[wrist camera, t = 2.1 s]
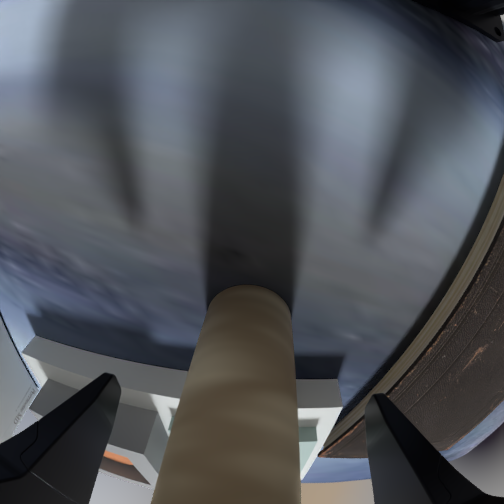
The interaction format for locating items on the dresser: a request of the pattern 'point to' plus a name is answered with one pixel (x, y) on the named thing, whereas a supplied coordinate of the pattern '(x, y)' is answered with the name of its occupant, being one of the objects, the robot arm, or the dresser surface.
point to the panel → (156, 405)
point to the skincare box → (12, 387)
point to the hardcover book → (447, 355)
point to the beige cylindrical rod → (237, 408)
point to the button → (117, 458)
